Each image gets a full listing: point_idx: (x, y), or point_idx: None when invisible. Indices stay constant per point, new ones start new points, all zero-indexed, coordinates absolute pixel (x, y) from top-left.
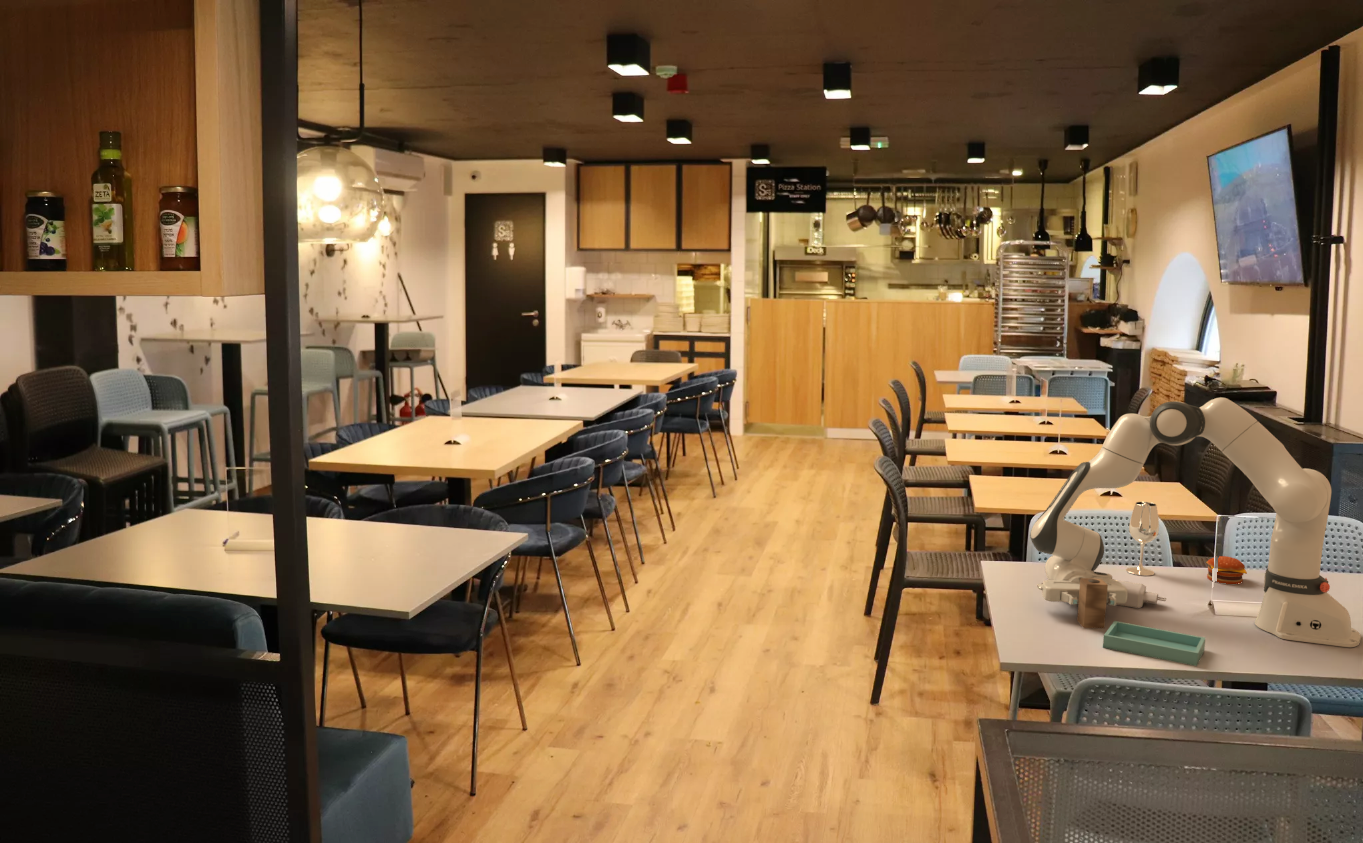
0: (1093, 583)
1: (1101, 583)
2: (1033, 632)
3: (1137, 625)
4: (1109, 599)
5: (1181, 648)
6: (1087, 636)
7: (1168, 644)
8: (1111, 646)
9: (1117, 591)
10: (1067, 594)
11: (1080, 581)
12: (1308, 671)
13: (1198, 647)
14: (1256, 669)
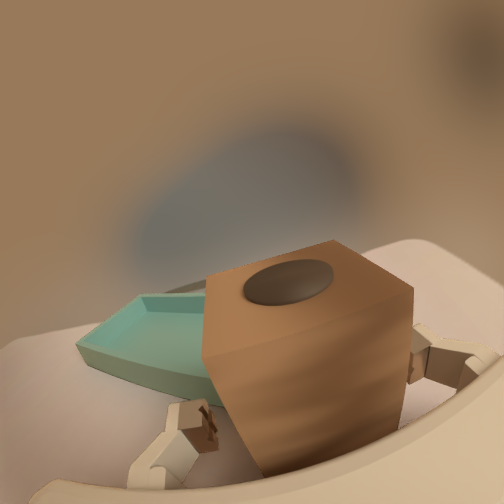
0: (294, 257)
1: (239, 275)
2: (459, 309)
3: (170, 367)
4: (203, 418)
5: (130, 343)
6: None
7: (141, 352)
8: None
9: (100, 487)
10: (455, 343)
11: (406, 310)
12: (38, 336)
13: (122, 308)
14: (81, 327)
